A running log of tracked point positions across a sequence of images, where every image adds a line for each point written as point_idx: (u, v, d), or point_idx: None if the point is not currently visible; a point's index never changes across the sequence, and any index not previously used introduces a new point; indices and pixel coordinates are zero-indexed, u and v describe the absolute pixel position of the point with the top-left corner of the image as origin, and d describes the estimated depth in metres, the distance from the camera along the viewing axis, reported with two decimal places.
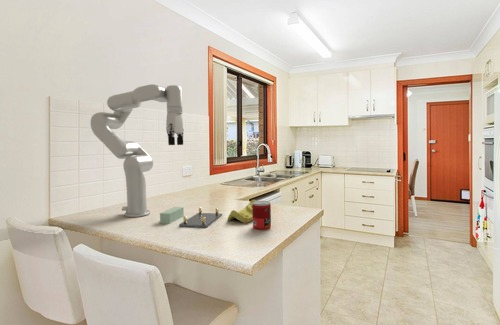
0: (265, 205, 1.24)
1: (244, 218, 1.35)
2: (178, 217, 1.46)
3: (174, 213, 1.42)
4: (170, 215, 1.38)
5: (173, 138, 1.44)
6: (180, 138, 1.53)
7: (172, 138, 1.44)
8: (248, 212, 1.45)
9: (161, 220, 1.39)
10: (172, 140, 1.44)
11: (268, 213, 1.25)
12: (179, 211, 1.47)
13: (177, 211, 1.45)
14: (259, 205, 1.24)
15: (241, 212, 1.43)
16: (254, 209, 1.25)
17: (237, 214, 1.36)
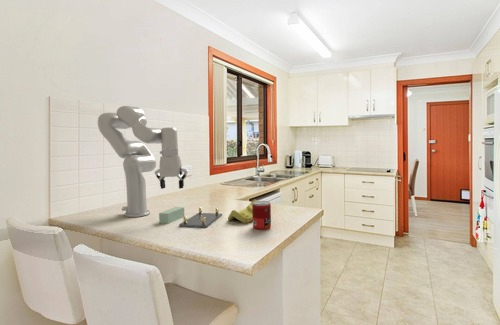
0: (265, 205, 1.24)
1: (244, 218, 1.35)
2: (178, 217, 1.46)
3: (173, 213, 1.42)
4: (169, 215, 1.38)
5: None
6: (163, 181, 1.45)
7: None
8: (249, 212, 1.45)
9: (160, 220, 1.39)
10: None
11: (268, 213, 1.25)
12: (179, 211, 1.47)
13: (177, 211, 1.45)
14: (259, 205, 1.24)
15: (242, 212, 1.43)
16: (254, 209, 1.25)
17: (237, 214, 1.36)
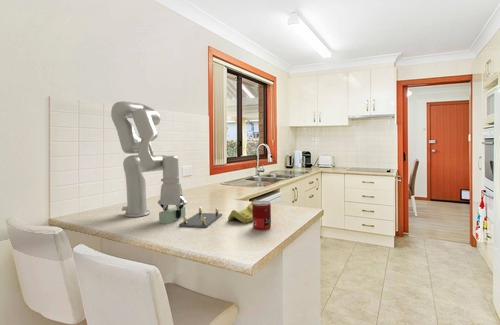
0: (265, 205, 1.24)
1: (244, 218, 1.35)
2: None
3: (173, 213, 1.42)
4: (168, 215, 1.38)
5: None
6: None
7: None
8: (249, 212, 1.45)
9: (160, 219, 1.39)
10: None
11: (268, 213, 1.25)
12: None
13: None
14: (259, 205, 1.24)
15: (242, 212, 1.43)
16: (254, 209, 1.25)
17: (237, 214, 1.36)
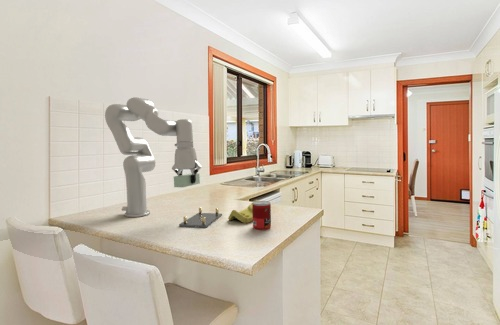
0: (265, 205, 1.24)
1: (244, 218, 1.35)
2: None
3: (188, 177, 1.39)
4: (183, 178, 1.35)
5: None
6: None
7: None
8: (250, 212, 1.45)
9: (175, 183, 1.36)
10: None
11: (268, 213, 1.25)
12: None
13: None
14: (259, 205, 1.24)
15: (242, 212, 1.43)
16: (254, 209, 1.25)
17: (237, 214, 1.36)
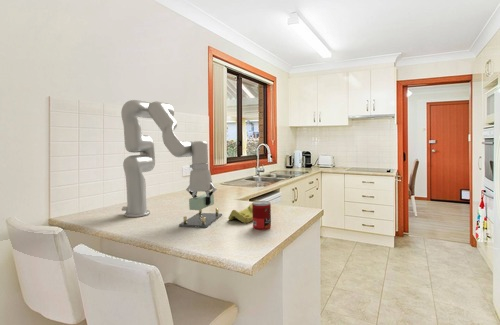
0: (265, 205, 1.24)
1: (244, 218, 1.35)
2: None
3: (203, 199, 1.38)
4: (199, 201, 1.34)
5: (209, 197, 1.41)
6: None
7: None
8: (250, 212, 1.45)
9: (190, 206, 1.35)
10: None
11: (268, 213, 1.25)
12: None
13: None
14: (259, 205, 1.24)
15: (242, 212, 1.43)
16: (254, 209, 1.25)
17: (237, 214, 1.36)
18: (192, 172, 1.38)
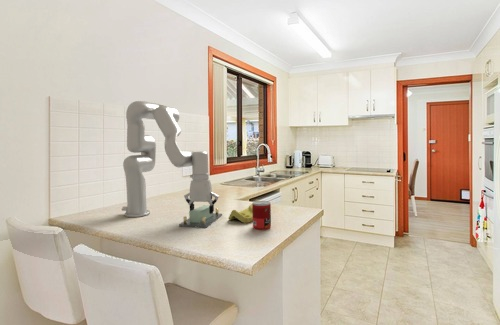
0: (265, 205, 1.24)
1: (244, 218, 1.35)
2: (207, 216, 1.42)
3: (203, 211, 1.38)
4: (199, 213, 1.35)
5: None
6: (193, 205, 1.43)
7: None
8: (250, 212, 1.45)
9: (190, 218, 1.36)
10: None
11: (268, 213, 1.25)
12: (208, 210, 1.43)
13: (206, 209, 1.41)
14: (259, 205, 1.24)
15: (243, 212, 1.43)
16: (254, 209, 1.25)
17: (237, 214, 1.36)
18: (192, 182, 1.39)
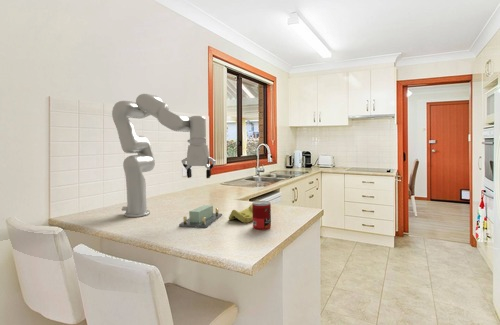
0: (265, 205, 1.24)
1: (244, 218, 1.35)
2: (207, 216, 1.42)
3: (203, 211, 1.38)
4: (199, 213, 1.35)
5: None
6: (190, 170, 1.43)
7: None
8: (250, 212, 1.45)
9: (190, 218, 1.36)
10: None
11: (268, 213, 1.25)
12: (208, 210, 1.43)
13: (206, 209, 1.41)
14: (259, 205, 1.24)
15: (243, 212, 1.43)
16: (254, 209, 1.25)
17: (237, 214, 1.37)
18: (190, 146, 1.39)
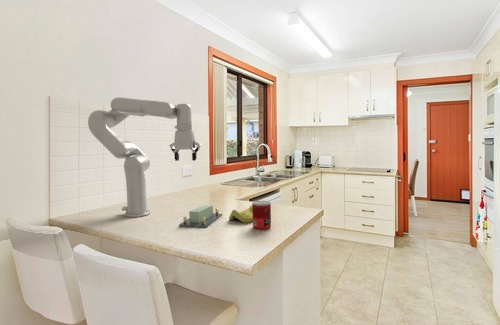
0: (265, 205, 1.24)
1: (244, 218, 1.35)
2: (207, 216, 1.42)
3: (203, 211, 1.38)
4: (199, 213, 1.35)
5: None
6: (178, 154, 1.57)
7: None
8: (251, 212, 1.45)
9: (190, 218, 1.36)
10: None
11: (268, 213, 1.25)
12: (208, 210, 1.43)
13: (206, 209, 1.41)
14: (259, 205, 1.24)
15: (243, 212, 1.43)
16: (254, 209, 1.25)
17: (237, 214, 1.37)
18: (177, 132, 1.53)
